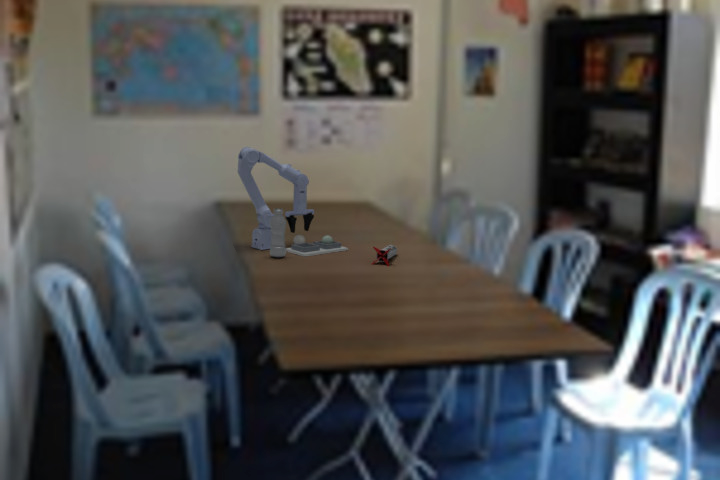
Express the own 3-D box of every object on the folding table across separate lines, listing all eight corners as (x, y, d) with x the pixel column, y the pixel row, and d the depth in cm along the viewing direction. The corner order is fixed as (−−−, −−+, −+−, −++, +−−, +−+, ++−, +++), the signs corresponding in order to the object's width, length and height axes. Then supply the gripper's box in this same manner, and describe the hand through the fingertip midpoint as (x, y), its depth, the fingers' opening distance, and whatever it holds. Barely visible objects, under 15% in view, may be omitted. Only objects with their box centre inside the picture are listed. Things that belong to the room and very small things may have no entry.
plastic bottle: (283, 259, 350) (284, 210, 346) (267, 258, 351) (268, 209, 347) (287, 256, 356) (288, 208, 352) (272, 255, 357) (272, 207, 353)
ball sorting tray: (304, 256, 356) (304, 249, 356) (284, 250, 367) (284, 243, 366) (348, 250, 372) (348, 243, 372) (327, 244, 382) (327, 238, 382)
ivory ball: (298, 247, 375) (298, 236, 374) (291, 245, 378) (291, 234, 377) (307, 246, 378) (307, 235, 377) (300, 244, 382) (300, 233, 381)
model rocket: (409, 251, 365) (394, 232, 366) (399, 258, 343) (383, 238, 343) (390, 266, 368) (375, 248, 369) (378, 274, 346) (363, 255, 346)
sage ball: (326, 248, 370) (326, 236, 369) (319, 246, 373) (319, 235, 372) (335, 247, 373) (335, 235, 372) (327, 245, 377) (328, 234, 376)
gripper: (292, 203, 367) (292, 234, 369) (318, 200, 376) (318, 231, 379) (282, 201, 372) (282, 232, 374) (308, 198, 381) (308, 228, 384)
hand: (299, 231), depth 377 cm, fingers open, 7 cm apart
